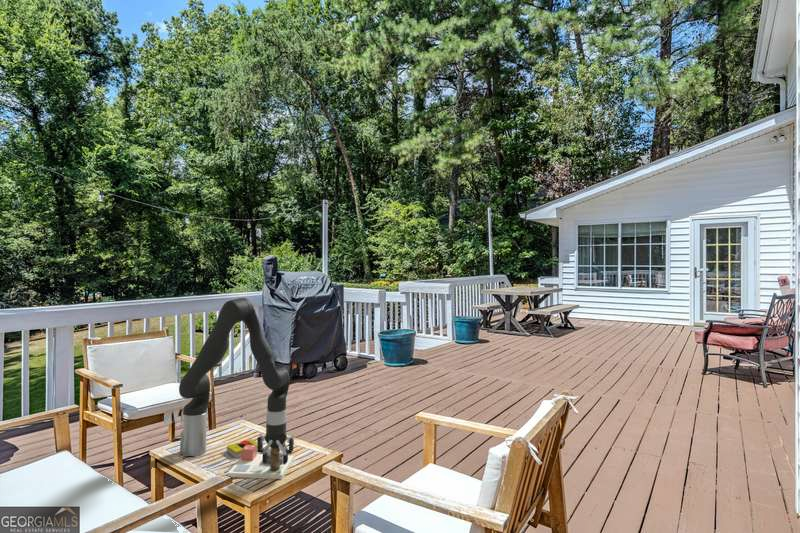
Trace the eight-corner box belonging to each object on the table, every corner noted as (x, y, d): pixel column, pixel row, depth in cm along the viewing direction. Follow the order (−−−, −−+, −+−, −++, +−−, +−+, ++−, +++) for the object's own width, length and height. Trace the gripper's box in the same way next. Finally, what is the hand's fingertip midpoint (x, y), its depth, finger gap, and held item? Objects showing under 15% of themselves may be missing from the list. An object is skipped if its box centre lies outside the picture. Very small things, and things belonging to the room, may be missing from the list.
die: (241, 460, 178) (241, 449, 178) (245, 455, 182) (246, 444, 182) (252, 460, 178) (252, 449, 178) (256, 456, 182) (256, 445, 182)
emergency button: (264, 441, 192) (230, 450, 181) (264, 451, 192) (230, 461, 181) (254, 435, 198) (221, 444, 187) (253, 444, 198) (220, 454, 187)
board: (227, 476, 167) (227, 467, 167) (244, 457, 184) (244, 448, 184) (282, 478, 166) (282, 469, 166) (293, 459, 184) (294, 450, 183)
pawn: (268, 471, 169) (269, 447, 169) (271, 466, 172) (272, 444, 172) (278, 471, 169) (278, 448, 169) (280, 467, 172) (281, 444, 172)
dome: (265, 461, 176) (265, 450, 176) (270, 454, 182) (270, 444, 182) (280, 462, 176) (281, 451, 176) (285, 455, 182) (285, 444, 182)
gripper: (254, 423, 167) (253, 467, 167) (292, 425, 167) (290, 468, 167) (261, 416, 174) (260, 458, 174) (297, 418, 174) (296, 459, 174)
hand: (275, 463), depth 171 cm, fingers open, 7 cm apart
